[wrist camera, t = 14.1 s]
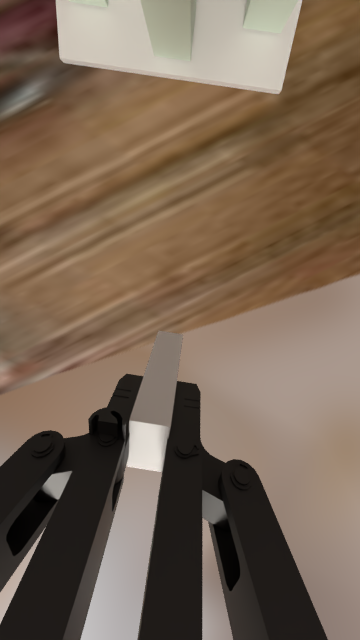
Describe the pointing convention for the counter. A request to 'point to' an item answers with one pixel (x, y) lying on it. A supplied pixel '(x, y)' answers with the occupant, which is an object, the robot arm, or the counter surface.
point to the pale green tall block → (268, 14)
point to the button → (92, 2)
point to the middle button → (170, 27)
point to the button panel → (207, 48)
